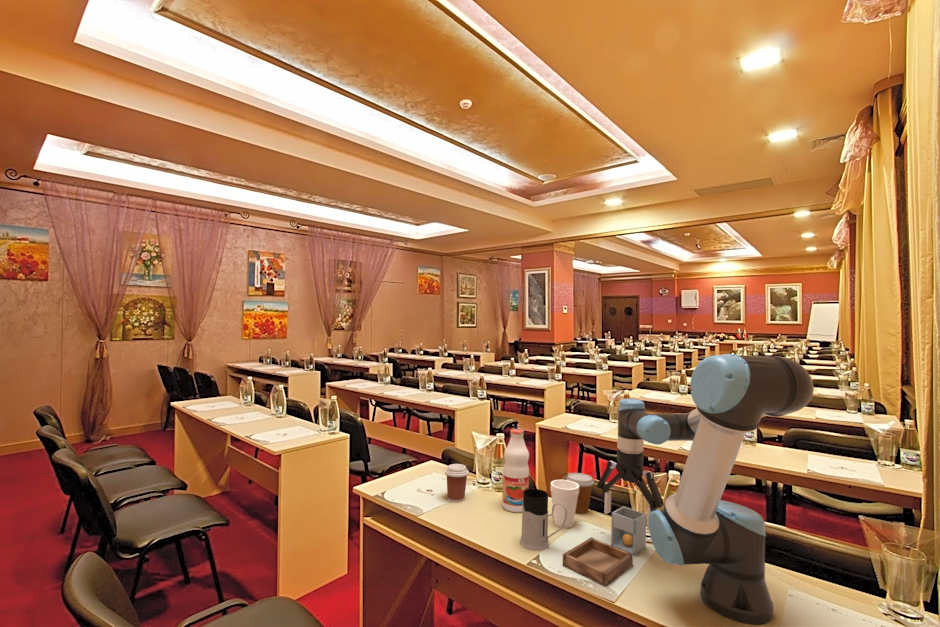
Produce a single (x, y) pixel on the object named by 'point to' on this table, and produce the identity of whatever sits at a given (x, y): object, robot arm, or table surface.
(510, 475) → the fruit juice
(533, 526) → the grey mug
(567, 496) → the foam cup
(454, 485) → the coffee cup
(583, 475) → the disposable coffee cup
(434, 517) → the table surface
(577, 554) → the tray
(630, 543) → the ball
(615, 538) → the grey frame
